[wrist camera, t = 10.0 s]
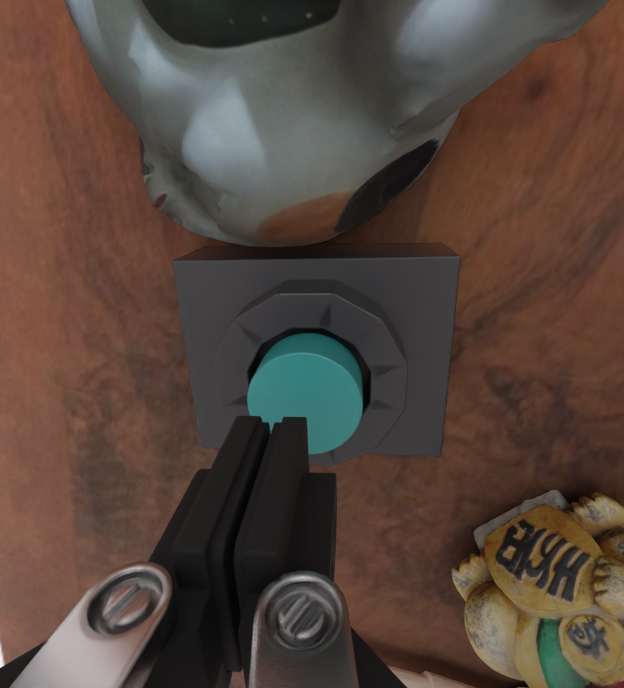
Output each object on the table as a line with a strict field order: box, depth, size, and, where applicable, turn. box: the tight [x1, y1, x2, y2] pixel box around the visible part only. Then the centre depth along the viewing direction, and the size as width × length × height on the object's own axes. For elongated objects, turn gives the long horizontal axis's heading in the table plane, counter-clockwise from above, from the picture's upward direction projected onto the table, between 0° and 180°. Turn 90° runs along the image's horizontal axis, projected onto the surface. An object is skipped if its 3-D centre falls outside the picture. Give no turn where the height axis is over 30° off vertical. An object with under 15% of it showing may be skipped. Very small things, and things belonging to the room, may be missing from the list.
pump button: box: [247, 333, 363, 454], centre depth 13 cm, size 4×4×2 cm
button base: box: [172, 243, 461, 466], centre depth 16 cm, size 8×10×5 cm
